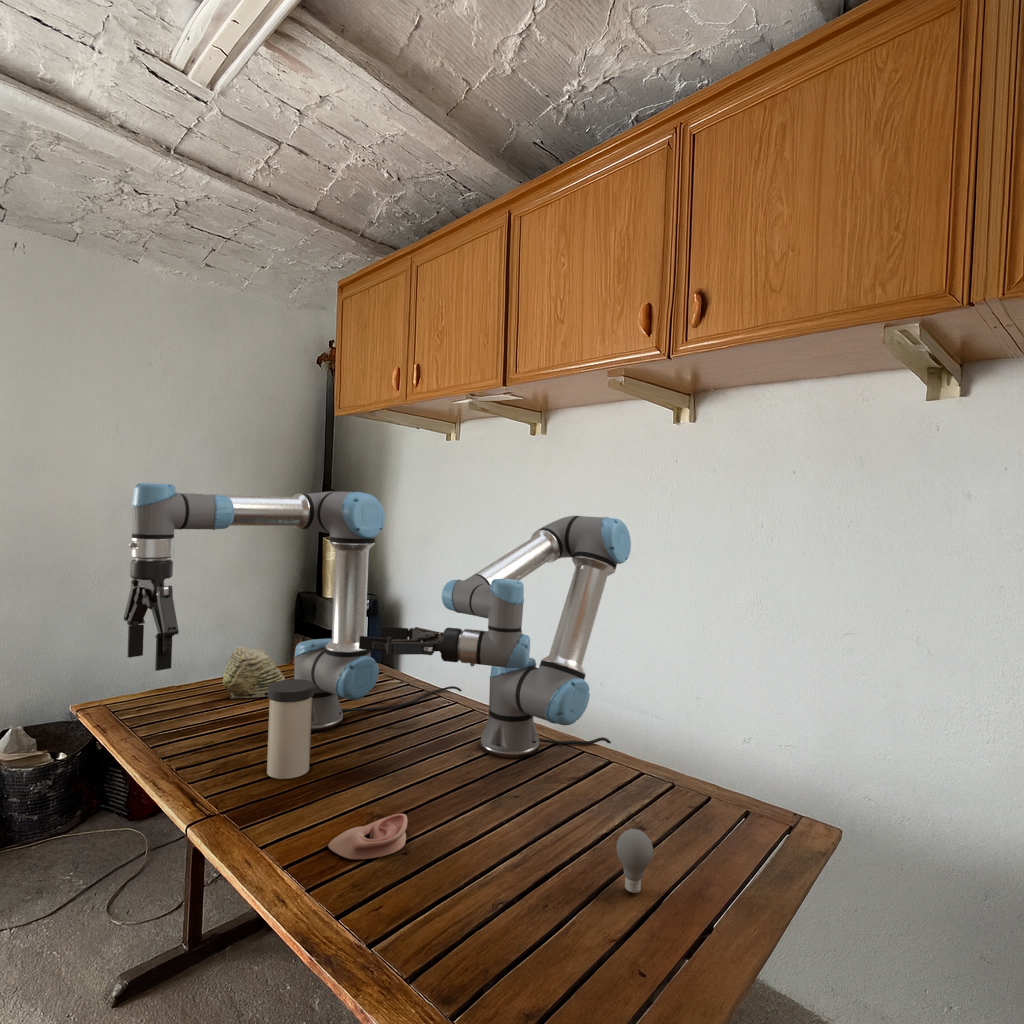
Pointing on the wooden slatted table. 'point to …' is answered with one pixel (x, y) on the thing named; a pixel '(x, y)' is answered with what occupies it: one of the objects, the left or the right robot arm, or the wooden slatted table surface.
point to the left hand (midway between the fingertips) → (148, 662)
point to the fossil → (250, 673)
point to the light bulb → (634, 857)
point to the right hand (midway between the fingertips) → (371, 636)
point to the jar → (289, 738)
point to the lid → (290, 690)
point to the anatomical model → (372, 839)
